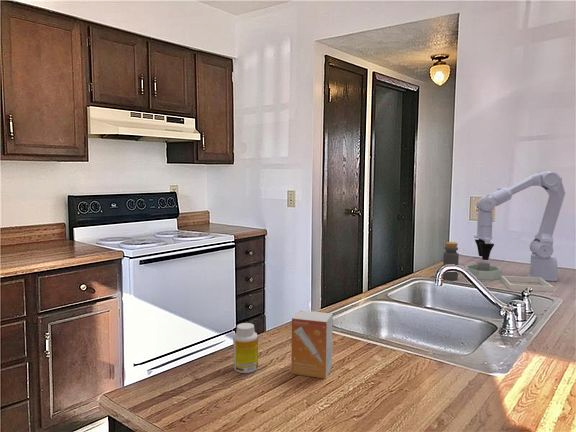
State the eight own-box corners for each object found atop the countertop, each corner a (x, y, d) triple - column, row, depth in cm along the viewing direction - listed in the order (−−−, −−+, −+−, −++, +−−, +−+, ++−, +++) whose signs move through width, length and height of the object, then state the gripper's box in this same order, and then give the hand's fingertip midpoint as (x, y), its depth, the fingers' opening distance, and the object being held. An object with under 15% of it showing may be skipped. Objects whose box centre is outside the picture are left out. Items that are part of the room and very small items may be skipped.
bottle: (459, 280, 188) (461, 244, 186) (445, 280, 188) (446, 244, 187) (455, 277, 194) (456, 241, 192) (440, 277, 194) (442, 241, 192)
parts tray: (540, 282, 185) (540, 277, 185) (552, 291, 171) (553, 286, 171) (500, 280, 188) (501, 275, 188) (510, 289, 174) (510, 284, 174)
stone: (487, 273, 197) (487, 261, 197) (489, 275, 193) (489, 263, 193) (476, 272, 198) (476, 261, 198) (477, 275, 194) (478, 263, 194)
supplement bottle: (261, 371, 105) (261, 327, 104) (238, 376, 103) (238, 331, 102) (252, 362, 110) (252, 320, 109) (230, 366, 108) (229, 323, 107)
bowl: (495, 273, 201) (496, 265, 201) (503, 280, 188) (503, 272, 188) (463, 271, 204) (463, 264, 203) (468, 279, 191) (468, 270, 190)
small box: (290, 374, 104) (290, 317, 102) (298, 363, 110) (298, 309, 108) (326, 379, 101) (326, 321, 100) (332, 367, 107) (333, 312, 106)
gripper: (471, 223, 202) (470, 254, 203) (477, 227, 187) (476, 261, 189) (488, 223, 200) (487, 255, 201) (496, 228, 186) (495, 261, 187)
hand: (483, 258), depth 195 cm, fingers open, 7 cm apart
